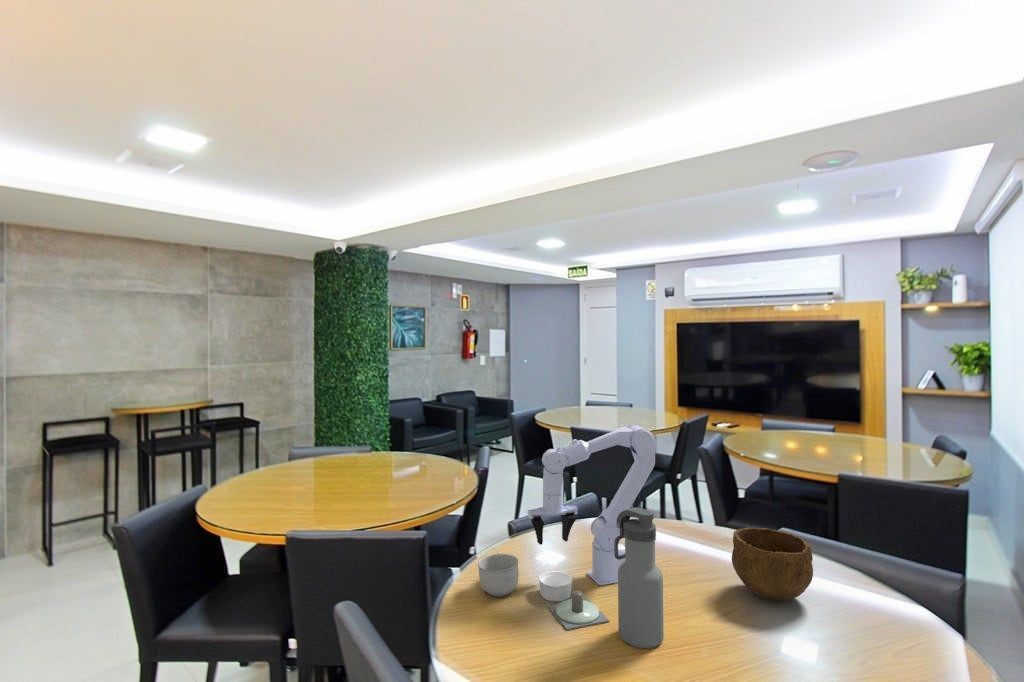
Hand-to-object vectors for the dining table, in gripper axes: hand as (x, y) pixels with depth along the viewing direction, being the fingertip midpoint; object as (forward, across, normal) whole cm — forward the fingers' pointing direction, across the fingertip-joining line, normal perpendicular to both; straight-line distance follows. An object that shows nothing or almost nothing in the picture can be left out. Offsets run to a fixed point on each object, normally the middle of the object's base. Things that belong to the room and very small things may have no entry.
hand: (552, 541), depth 139 cm
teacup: (+11, +16, 0) cm, 19 cm away
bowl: (+10, -50, +27) cm, 58 cm away
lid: (+10, +2, +19) cm, 21 cm away
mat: (+10, +2, +19) cm, 22 cm away
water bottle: (+10, -8, +32) cm, 35 cm away
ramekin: (+11, +3, +8) cm, 14 cm away
